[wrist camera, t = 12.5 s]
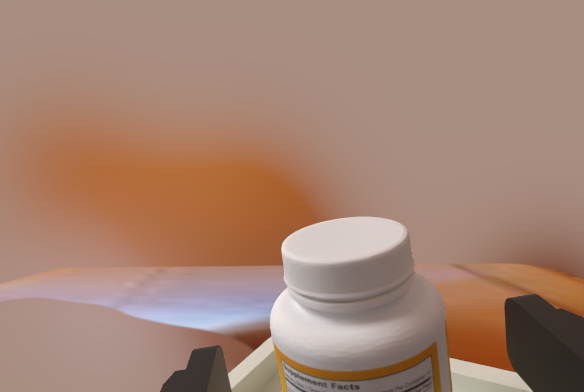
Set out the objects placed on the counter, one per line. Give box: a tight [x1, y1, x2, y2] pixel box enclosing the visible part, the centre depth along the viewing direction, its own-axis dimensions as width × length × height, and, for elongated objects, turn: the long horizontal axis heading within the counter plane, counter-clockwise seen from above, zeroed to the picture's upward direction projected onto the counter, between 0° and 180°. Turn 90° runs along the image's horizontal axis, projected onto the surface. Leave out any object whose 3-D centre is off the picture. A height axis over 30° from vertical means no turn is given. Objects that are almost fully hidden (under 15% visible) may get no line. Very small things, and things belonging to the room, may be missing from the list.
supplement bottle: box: [270, 217, 453, 392], centre depth 15 cm, size 6×6×10 cm
